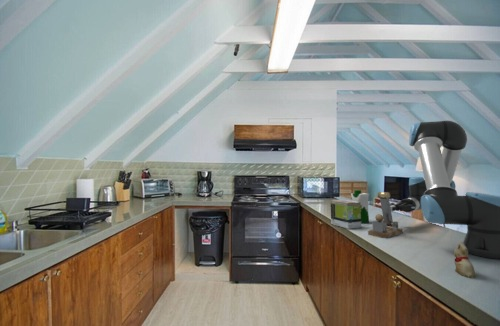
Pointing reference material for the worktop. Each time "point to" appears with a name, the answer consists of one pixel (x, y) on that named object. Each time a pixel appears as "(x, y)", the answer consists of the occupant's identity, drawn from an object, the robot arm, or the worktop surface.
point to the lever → (385, 206)
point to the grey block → (380, 226)
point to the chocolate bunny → (463, 262)
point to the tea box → (346, 213)
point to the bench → (388, 231)
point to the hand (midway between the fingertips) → (387, 209)
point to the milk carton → (362, 204)
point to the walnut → (379, 217)
